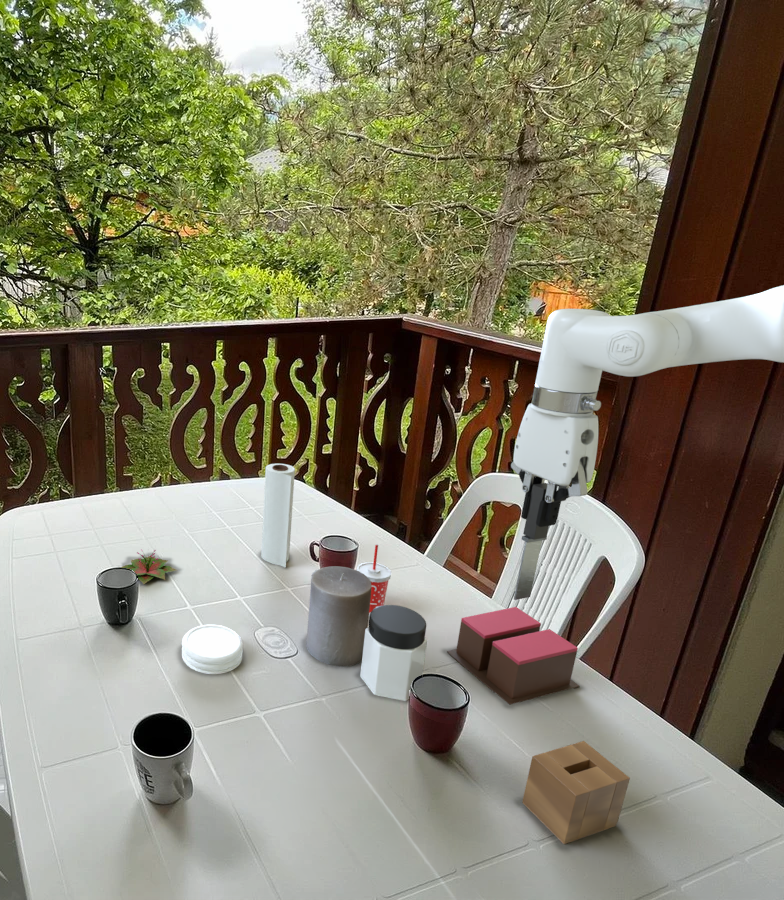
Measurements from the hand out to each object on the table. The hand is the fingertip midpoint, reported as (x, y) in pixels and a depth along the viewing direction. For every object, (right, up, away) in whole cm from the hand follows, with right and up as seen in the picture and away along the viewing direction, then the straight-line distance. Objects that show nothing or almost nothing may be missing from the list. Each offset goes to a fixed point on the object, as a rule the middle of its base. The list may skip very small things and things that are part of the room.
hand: (538, 520), depth 94 cm
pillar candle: (-27, -24, +13) cm, 38 cm away
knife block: (-7, -34, -18) cm, 39 cm away
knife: (0, -12, +4) cm, 13 cm away
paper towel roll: (-33, -14, +44) cm, 56 cm away
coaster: (-48, -24, +11) cm, 55 cm away
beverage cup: (-18, -20, +24) cm, 36 cm away
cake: (0, -25, +8) cm, 27 cm away
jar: (-20, -26, +5) cm, 34 cm away
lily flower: (-60, -15, +39) cm, 73 cm away
